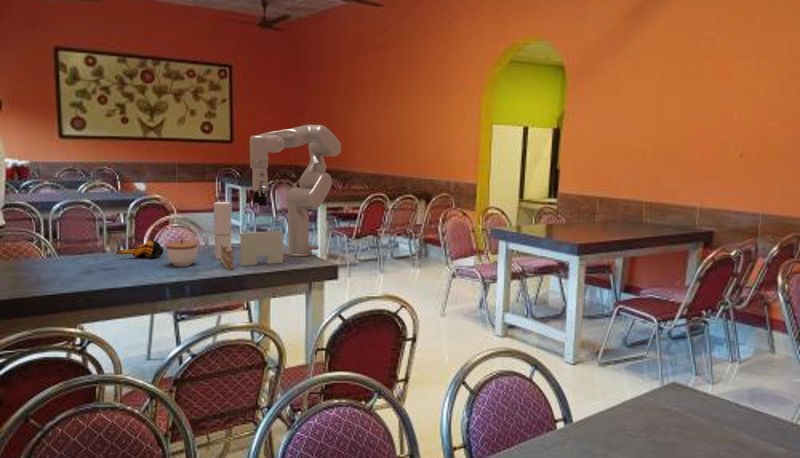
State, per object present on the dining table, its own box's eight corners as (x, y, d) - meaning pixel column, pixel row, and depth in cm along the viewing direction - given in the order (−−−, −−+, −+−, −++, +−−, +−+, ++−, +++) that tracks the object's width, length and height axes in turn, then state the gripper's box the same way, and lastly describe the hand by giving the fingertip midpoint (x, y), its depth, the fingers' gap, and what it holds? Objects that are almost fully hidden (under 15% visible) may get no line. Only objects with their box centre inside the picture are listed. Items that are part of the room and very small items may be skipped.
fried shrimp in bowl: (167, 248, 273) (126, 239, 262) (158, 268, 276) (117, 260, 265) (164, 238, 280) (123, 228, 269) (154, 257, 283) (114, 249, 272)
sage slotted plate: (281, 261, 274) (281, 230, 271) (282, 262, 272) (282, 231, 270) (240, 264, 266) (240, 232, 263) (241, 265, 264) (241, 233, 262)
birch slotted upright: (226, 262, 269) (225, 244, 268) (233, 269, 256) (232, 250, 255) (221, 262, 268) (221, 244, 267) (228, 270, 255) (227, 251, 254)
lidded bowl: (187, 268, 256) (187, 242, 254) (160, 266, 258) (159, 241, 256) (203, 262, 268) (202, 237, 266) (177, 260, 270) (176, 236, 269)
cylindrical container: (233, 256, 283) (232, 202, 279) (227, 259, 276) (226, 204, 272) (218, 255, 284) (217, 201, 280) (212, 258, 277) (211, 203, 273)
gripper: (272, 165, 256) (273, 206, 259) (263, 163, 271) (264, 201, 274) (254, 166, 253) (255, 207, 255) (246, 163, 268) (247, 202, 271)
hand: (259, 204), depth 265 cm, fingers open, 9 cm apart
